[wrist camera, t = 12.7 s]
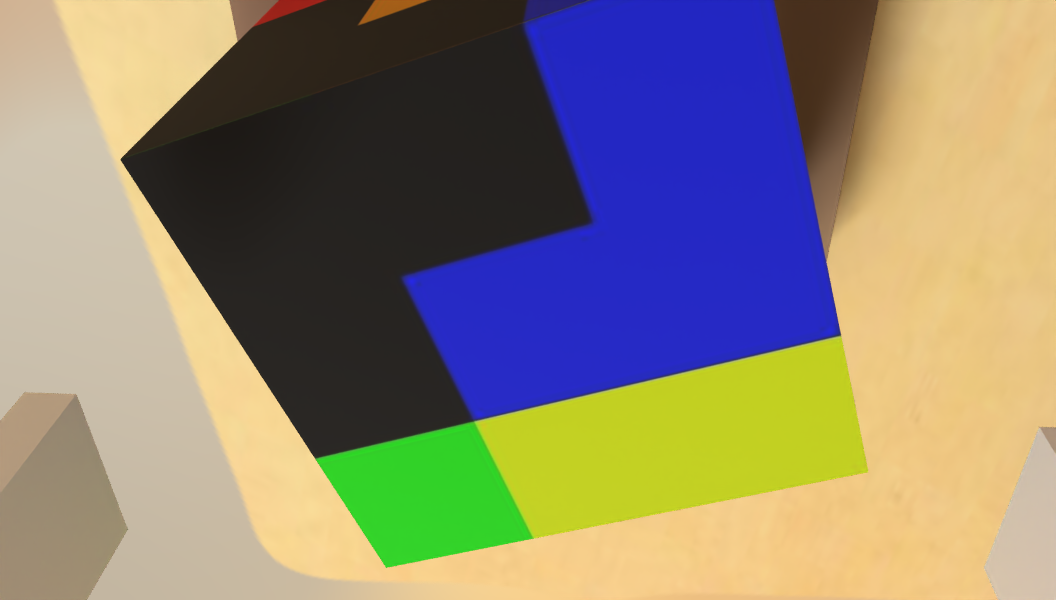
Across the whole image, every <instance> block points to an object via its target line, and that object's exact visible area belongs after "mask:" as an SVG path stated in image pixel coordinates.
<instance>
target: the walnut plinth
mask: <svg viewBox="0 0 1056 600" xmlns="http://www.w3.org/2000/svg"><path fill="white" fill-rule="evenodd" d="M278 1H279V0H230V5H231V10H232V15H233V20H234V25H235V30H236V35H237V40H238V41H239V40H240V39H241V38H242V37H243V36H244V35H245V34H246V33H247V32H248V31H249V30H250V29H251V28H252V27H253V26H254V25H255V24H256V23H257V22H258V21H259V20H260V19H261V18H262V17H263V16H264V15H265V14H266V13H267V12H268V11H269V10H270V9H271V8H272V7H273V6H274V5H275V4H276V3H277V2H278ZM774 2H775V7H776V12H777V17H778V22H779V27H780V32H781V37H782V42H783V47H784V52H785V58H786V63H787V68H788V73H789V78H790V83H791V88H792V93H793V98H794V103H795V108H796V113H797V118H798V123H799V128H800V133H801V138H802V143H803V148H804V153H805V158H806V163H807V168H808V173H809V178H810V183H811V188H812V193H813V198H814V203H815V208H816V213H817V218H818V223H819V228H820V233H821V238H822V243H823V248H824V253H825V258H826V262H827V257H828V252H829V247H830V242H831V237H832V232H833V227H834V222H835V217H836V212H837V207H838V201H839V196H840V191H841V186H842V181H843V176H844V171H845V166H846V161H847V156H848V151H849V146H850V141H851V136H852V131H853V126H854V121H855V116H856V111H857V106H858V101H859V96H860V91H861V86H862V81H863V76H864V70H865V65H866V60H867V55H868V50H869V45H870V40H871V35H872V30H873V25H874V20H875V15H876V10H877V5H878V0H774Z"/></svg>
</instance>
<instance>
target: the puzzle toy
mask: <svg viewBox="0 0 1056 600" xmlns="http://www.w3.org/2000/svg"><path fill="white" fill-rule="evenodd" d="M120 160H121V161H122V163H123V164H124V166H125V168H126V169H127V171H128V172H129V174H130V175H131V177H132V178H133V180H134V181H135V183H136V184H137V186H138V188H139V189H140V191H141V192H142V194H143V195H144V197H145V198H146V200H147V201H148V203H149V204H150V206H151V207H152V209H153V211H154V212H155V214H156V215H157V217H158V218H159V220H160V221H161V223H162V224H163V226H164V227H165V229H166V230H167V232H168V234H169V235H170V237H171V238H172V240H173V241H174V243H175V244H176V246H177V247H178V249H179V250H180V252H181V254H182V255H183V257H184V258H185V260H186V261H187V263H188V264H189V266H190V267H191V269H192V270H193V272H194V273H195V275H196V277H197V278H198V280H199V281H200V283H201V284H202V286H203V287H204V289H205V290H206V292H207V293H208V295H209V296H210V298H211V300H212V301H213V303H214V304H215V306H216V307H217V309H218V310H219V312H220V313H221V315H222V316H223V318H224V320H225V321H226V323H227V324H228V326H229V327H230V329H231V330H232V332H233V333H234V335H235V336H236V338H237V339H238V341H239V343H240V344H241V346H242V347H243V349H244V350H245V352H246V353H247V355H248V356H249V358H250V359H251V361H252V362H253V364H254V366H255V367H256V369H257V370H258V372H259V373H260V375H261V376H262V378H263V379H264V381H265V382H266V384H267V386H268V387H269V389H270V390H271V392H272V393H273V395H274V396H275V398H276V399H277V401H278V402H279V404H280V405H281V407H282V409H283V410H284V412H285V413H286V415H287V416H288V418H289V419H290V421H291V422H292V424H293V425H294V427H295V428H296V430H297V432H298V433H299V435H300V436H301V438H302V439H303V441H304V442H305V444H306V445H307V447H308V448H309V450H310V452H311V453H312V455H313V456H314V458H315V459H316V461H317V462H318V464H319V465H320V467H321V468H322V470H323V471H324V473H325V475H326V476H327V478H328V479H329V481H330V482H331V484H332V485H333V487H334V488H335V490H336V491H337V493H338V494H339V496H340V498H341V499H342V501H343V502H344V504H345V505H346V507H347V508H348V510H349V511H350V513H351V514H352V516H353V518H354V519H355V521H356V522H357V524H358V525H359V527H360V528H361V530H362V531H363V533H364V534H365V536H366V537H367V539H368V541H369V542H370V544H371V545H372V547H373V548H374V550H375V551H376V553H377V554H378V556H379V557H380V559H381V561H382V562H383V564H384V565H385V567H386V568H387V567H392V566H397V565H402V564H407V563H413V562H418V561H423V560H428V559H433V558H438V557H443V556H448V555H453V554H458V553H463V552H468V551H473V550H478V549H483V548H488V547H493V546H498V545H503V544H508V543H513V542H518V541H524V540H529V539H534V538H539V537H544V536H549V535H554V534H559V533H564V532H569V531H574V530H579V529H584V528H589V527H594V526H599V525H604V524H609V523H614V522H619V521H624V520H629V519H635V518H640V517H645V516H650V515H655V514H660V513H665V512H670V511H675V510H680V509H685V508H690V507H695V506H700V505H705V504H710V503H715V502H720V501H725V500H730V499H735V498H741V497H746V496H751V495H756V494H761V493H766V492H771V491H776V490H781V489H786V488H791V487H796V486H801V485H806V484H811V483H816V482H821V481H826V480H831V479H836V478H841V477H846V476H852V475H857V474H862V473H867V472H868V468H867V463H866V458H865V453H864V448H863V443H862V438H861V433H860V428H859V423H858V418H857V413H856V408H855V403H854V398H853V393H852V388H851V383H850V378H849V373H848V368H847V363H846V358H845V353H844V348H843V343H842V338H841V333H840V328H839V323H838V318H837V313H836V308H835V303H834V298H833V293H832V288H831V283H830V278H829V273H828V268H827V263H826V258H825V253H824V248H823V243H822V238H821V233H820V228H819V223H818V218H817V213H816V208H815V203H814V198H813V193H812V188H811V183H810V178H809V173H808V168H807V163H806V158H805V153H804V148H803V143H802V138H801V133H800V128H799V123H798V118H797V113H796V108H795V103H794V98H793V93H792V88H791V83H790V78H789V73H788V68H787V63H786V58H785V52H784V47H783V42H782V37H781V32H780V27H779V22H778V17H777V12H776V7H775V2H774V0H279V1H278V2H277V3H276V4H275V5H274V6H273V7H272V8H271V9H270V10H269V11H268V12H267V13H266V14H265V15H264V16H263V17H262V18H261V19H260V20H259V21H258V22H257V23H256V24H255V25H254V26H253V27H252V28H251V29H250V30H249V31H248V32H247V33H246V34H245V35H244V36H243V37H242V38H241V39H240V40H239V41H238V42H237V43H236V44H235V45H234V46H233V47H232V48H231V49H230V50H229V51H228V52H227V53H226V54H225V55H224V56H223V57H222V58H221V59H220V60H219V61H218V62H217V63H216V64H215V65H214V66H213V67H212V68H211V69H210V70H209V71H208V72H207V73H206V74H205V75H204V76H203V77H202V78H201V79H200V80H199V81H198V82H197V83H196V84H195V85H194V86H193V87H192V88H191V89H190V90H189V91H188V92H187V93H186V94H185V95H184V96H183V97H182V98H181V99H180V100H179V101H178V102H177V103H176V104H175V105H174V106H173V107H172V108H171V109H170V110H169V111H168V112H167V113H166V114H165V115H164V116H163V117H162V118H161V119H160V120H159V121H158V122H157V123H156V124H155V125H154V126H153V127H152V128H151V129H150V130H149V131H148V132H147V133H146V134H145V135H144V136H143V137H142V138H141V139H140V140H139V141H138V142H137V143H136V144H135V145H134V146H133V147H132V148H131V149H130V150H129V151H128V152H127V153H126V154H125V155H124V156H123V157H122V158H121V159H120Z"/></svg>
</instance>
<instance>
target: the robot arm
mask: <svg viewBox="0 0 1056 600" xmlns="http://www.w3.org/2000/svg"><path fill="white" fill-rule="evenodd" d="M127 530H128V529H127V526H126V524H125V521H124V519H123V516H122V513H121V511H120V508H119V505H118V503H117V500H116V497H115V495H114V492H113V489H112V487H111V484H110V482H109V479H108V476H107V474H106V471H105V468H104V466H103V463H102V460H101V458H100V455H99V452H98V450H97V447H96V445H95V442H94V439H93V437H92V434H91V432H90V429H89V426H88V424H87V421H86V419H85V416H84V413H83V410H82V408H81V405H80V402H79V400H78V397H77V395H76V394H54V393H24V394H23V395H22V396H21V397H20V398H19V399H18V401H17V402H16V403H15V405H14V406H13V407H12V408H11V409H10V410H9V411H8V412H7V414H6V415H5V416H4V418H2V420H1V421H0V600H87V599H88V597H89V595H90V594H91V592H92V590H93V588H94V587H95V585H96V583H97V582H98V579H99V578H100V576H101V575H102V573H103V571H104V569H105V568H106V566H107V564H108V562H109V561H110V559H111V557H112V556H113V554H114V552H115V550H116V548H117V547H118V545H119V544H120V542H121V540H122V538H123V537H124V535H125V533H126V531H127ZM984 569H985V571H986V573H987V576H988V578H989V580H990V583H991V585H992V587H993V589H994V592H995V594H996V596H997V599H998V600H1056V428H1054V427H1039V429H1038V432H1037V434H1036V437H1035V439H1034V442H1033V444H1032V447H1031V450H1030V452H1029V455H1028V457H1027V460H1026V462H1025V465H1024V467H1023V470H1022V472H1021V475H1020V477H1019V480H1018V483H1017V485H1016V488H1015V490H1014V493H1013V495H1012V498H1011V500H1010V503H1009V505H1008V508H1007V510H1006V513H1005V516H1004V518H1003V521H1002V523H1001V526H1000V528H999V531H998V533H997V536H996V538H995V541H994V544H993V546H992V549H991V551H990V554H989V556H988V559H987V561H986V564H985V566H984Z"/></svg>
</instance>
